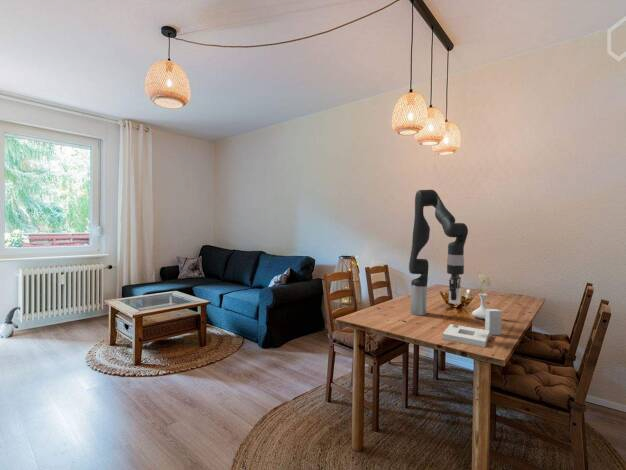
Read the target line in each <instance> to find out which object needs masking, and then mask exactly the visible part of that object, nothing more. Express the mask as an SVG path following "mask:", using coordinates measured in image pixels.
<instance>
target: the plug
mask: <svg viewBox="0 0 626 470" xmlns="http://www.w3.org/2000/svg"><path fill="white" fill-rule="evenodd" d="M455 286H456V285H455ZM452 289H454V287H452ZM461 290H462V286H461V285H460V286H458V287H457V292H456V300H451V291H450V285H449V286H448V304H454V305H460V304H461V300H462V299H461V298H462V297H461V296H462V294H461V293H462V291H461Z"/></svg>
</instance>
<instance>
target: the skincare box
mask: <svg viewBox="0 0 626 470" xmlns="http://www.w3.org/2000/svg"><path fill="white" fill-rule="evenodd" d="M502 312H503V311H502V310H500V309H498V308H487V309H485V319H484V320H485V321H484V322H485V323H484V330H488V331H490V332H489V336H501V335H502Z"/></svg>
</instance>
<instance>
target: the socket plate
mask: <svg viewBox="0 0 626 470" xmlns="http://www.w3.org/2000/svg"><path fill="white" fill-rule="evenodd" d="M489 332H490V331H488V330H485V329H481V328H476V327H469V326H462V325H458V324H452V323H450V324H449V325H448V326H447V327H446V329H445V330H444V332H443V333H442V340H445V341H451V342H456V343H461V344H465V345H466V344H467V345H471V346H475V345H476V346H477V347H481V346H482V348H486V346H487V343H488V341H489V338H490V335H489Z"/></svg>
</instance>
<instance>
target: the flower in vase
mask: <svg viewBox="0 0 626 470" xmlns="http://www.w3.org/2000/svg"><path fill="white" fill-rule="evenodd" d="M478 277H479V280H480V282H481V284H480V287H479V286H478V288H477V290H479V291H480V292H481V293H478V296H479V297H480V306H479V307H478V308H476V309H475V310H473V311H472V312H471V315H472V316H473V317H475V318H478V319H483V320H485V309H488V308H487V307H486V299H487V297H488V296H489V294H488V293H483V292H485V291H487V290H488V289H487V288H486V289H484V290H482V286H483V285H485V287H490V286H491V282H490V279H489V278H488V277H487V276H486V275H483V273H481V274H479V275H478Z"/></svg>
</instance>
